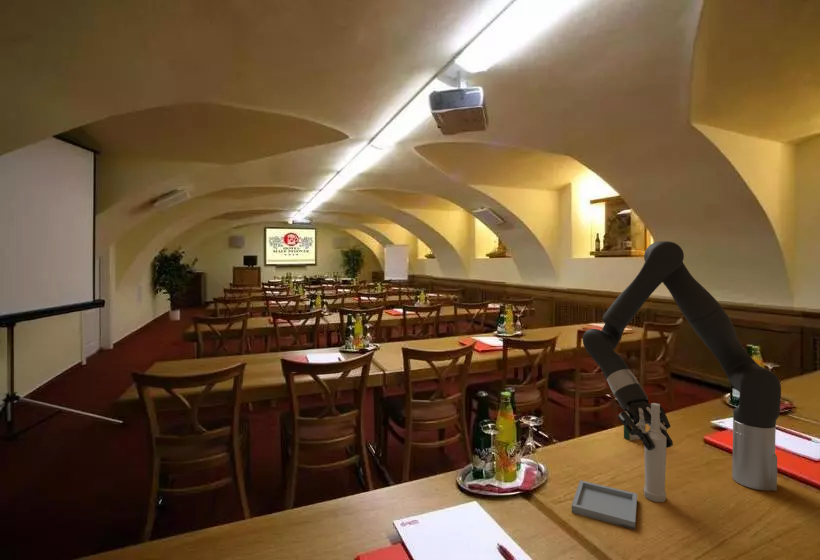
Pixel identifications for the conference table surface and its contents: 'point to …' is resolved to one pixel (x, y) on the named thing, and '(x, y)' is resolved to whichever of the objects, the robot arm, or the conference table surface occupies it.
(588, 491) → the tray
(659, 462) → the bottle
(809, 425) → the conference table surface
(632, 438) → the crayon box
